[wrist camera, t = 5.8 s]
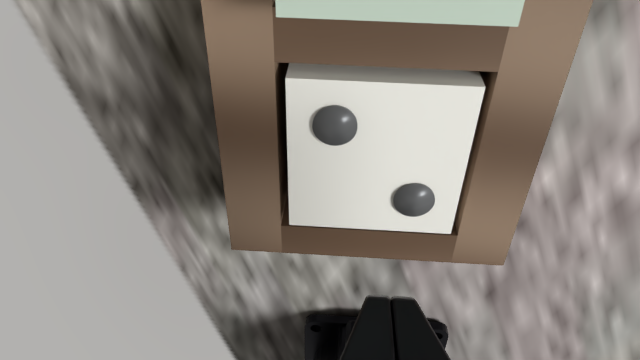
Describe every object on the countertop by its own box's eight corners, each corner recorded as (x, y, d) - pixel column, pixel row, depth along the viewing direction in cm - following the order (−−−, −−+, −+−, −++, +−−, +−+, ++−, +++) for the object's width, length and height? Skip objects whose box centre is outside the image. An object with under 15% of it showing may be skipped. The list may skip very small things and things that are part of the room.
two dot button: (440, 184, 18) (451, 236, 16) (296, 176, 18) (288, 227, 16) (468, 47, 15) (486, 88, 13) (295, 40, 15) (284, 79, 13)
